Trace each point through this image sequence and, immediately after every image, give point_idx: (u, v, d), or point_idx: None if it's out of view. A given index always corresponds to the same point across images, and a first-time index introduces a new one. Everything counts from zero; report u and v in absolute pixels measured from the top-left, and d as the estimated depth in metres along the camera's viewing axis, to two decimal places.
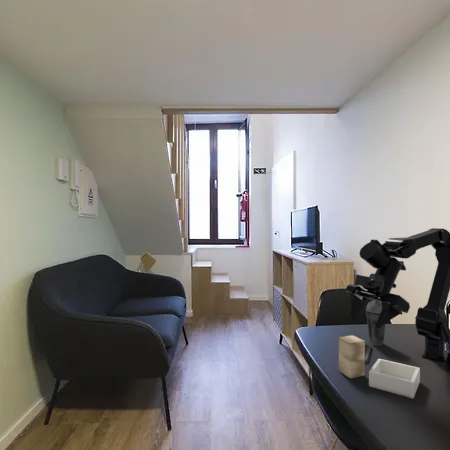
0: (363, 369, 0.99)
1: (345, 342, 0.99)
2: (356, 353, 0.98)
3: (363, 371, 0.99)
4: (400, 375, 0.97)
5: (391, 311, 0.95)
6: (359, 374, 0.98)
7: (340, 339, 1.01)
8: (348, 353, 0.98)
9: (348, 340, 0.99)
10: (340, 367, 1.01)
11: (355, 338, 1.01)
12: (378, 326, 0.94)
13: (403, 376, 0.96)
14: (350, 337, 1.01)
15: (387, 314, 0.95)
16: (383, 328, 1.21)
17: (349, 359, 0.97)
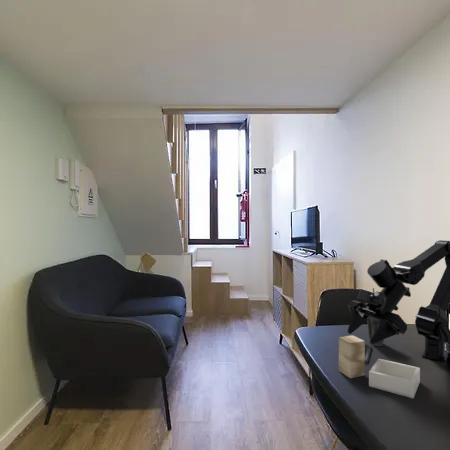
0: (363, 369, 0.99)
1: (345, 342, 0.99)
2: (355, 353, 0.98)
3: (363, 371, 0.99)
4: (400, 375, 0.97)
5: (388, 330, 0.97)
6: (359, 374, 0.98)
7: (340, 339, 1.01)
8: (348, 353, 0.98)
9: (348, 340, 0.99)
10: (340, 367, 1.01)
11: (355, 338, 1.01)
12: (373, 341, 0.97)
13: (403, 376, 0.96)
14: (350, 337, 1.01)
15: (383, 332, 0.97)
16: None
17: (349, 359, 0.97)
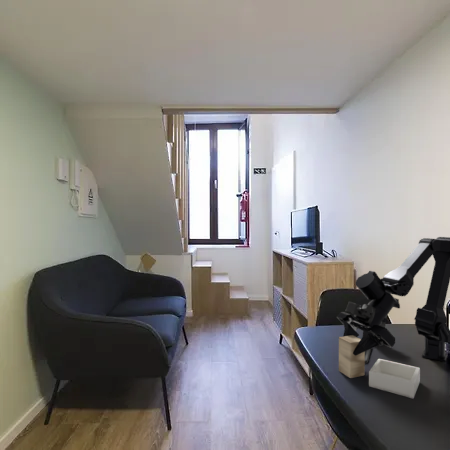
0: (363, 369, 0.99)
1: (345, 342, 0.99)
2: None
3: (363, 371, 0.99)
4: (400, 375, 0.97)
5: (371, 341, 0.98)
6: (359, 374, 0.98)
7: (340, 339, 1.01)
8: (348, 352, 0.98)
9: (348, 340, 0.99)
10: (340, 367, 1.01)
11: (355, 338, 1.01)
12: (356, 353, 0.97)
13: (403, 376, 0.96)
14: (350, 337, 1.01)
15: (366, 343, 0.97)
16: None
17: (349, 359, 0.97)
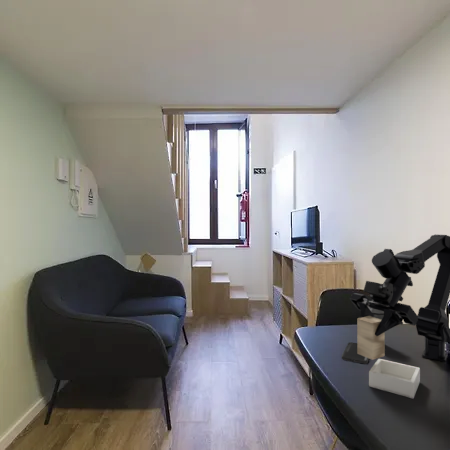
0: (383, 349, 0.96)
1: (365, 323, 0.95)
2: None
3: (383, 352, 0.95)
4: (400, 375, 0.97)
5: (392, 320, 0.95)
6: (380, 355, 0.95)
7: (359, 320, 0.97)
8: (370, 333, 0.94)
9: (368, 320, 0.95)
10: (359, 350, 0.97)
11: (374, 318, 0.97)
12: (378, 333, 0.93)
13: (403, 376, 0.96)
14: (368, 318, 0.98)
15: (388, 322, 0.94)
16: None
17: (371, 340, 0.93)
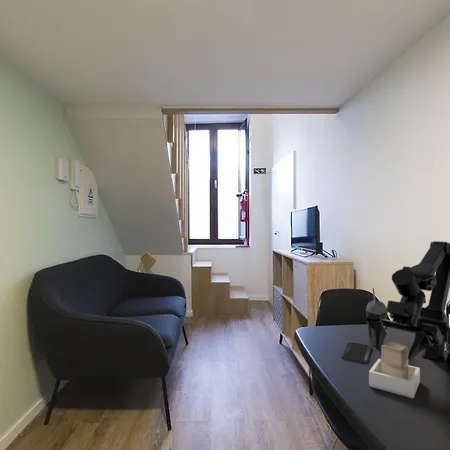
0: (407, 376, 0.93)
1: (391, 351, 0.91)
2: (403, 361, 0.91)
3: (407, 379, 0.93)
4: None
5: (422, 342, 0.91)
6: None
7: (383, 347, 0.93)
8: (397, 361, 0.90)
9: (394, 348, 0.92)
10: None
11: (397, 344, 0.94)
12: (411, 357, 0.89)
13: None
14: (391, 344, 0.94)
15: (419, 345, 0.90)
16: None
17: (398, 368, 0.90)
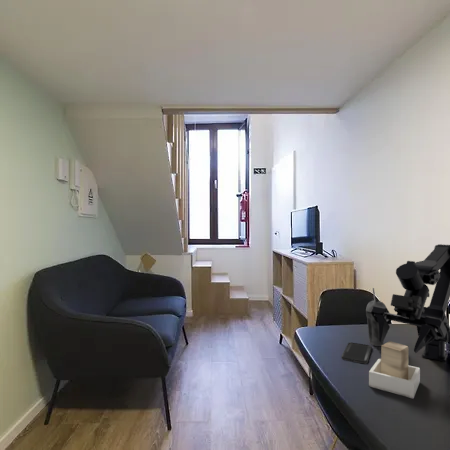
0: (407, 376, 0.93)
1: (391, 351, 0.91)
2: (403, 361, 0.91)
3: (407, 379, 0.93)
4: None
5: (428, 335, 0.93)
6: None
7: (383, 347, 0.93)
8: (397, 361, 0.90)
9: (394, 348, 0.92)
10: None
11: (397, 344, 0.94)
12: (417, 350, 0.91)
13: None
14: (391, 344, 0.94)
15: (425, 338, 0.92)
16: None
17: (398, 368, 0.90)
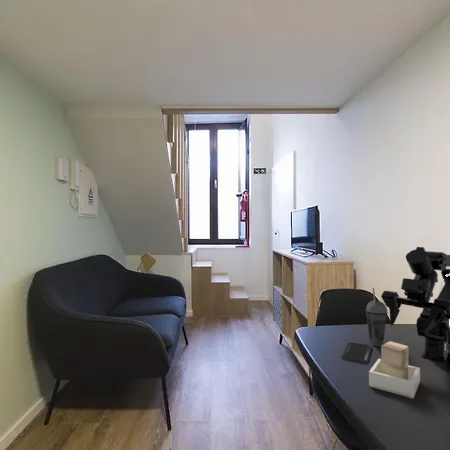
0: (407, 376, 0.93)
1: (391, 351, 0.91)
2: (403, 361, 0.91)
3: (407, 379, 0.93)
4: None
5: (437, 317, 0.97)
6: None
7: (383, 347, 0.93)
8: (397, 361, 0.90)
9: (394, 348, 0.92)
10: None
11: (397, 344, 0.94)
12: (427, 330, 0.95)
13: None
14: (391, 344, 0.94)
15: (434, 319, 0.96)
16: (383, 328, 1.21)
17: (398, 368, 0.90)
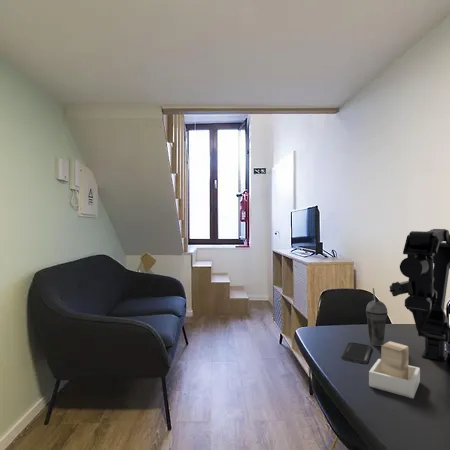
0: (407, 376, 0.93)
1: (391, 351, 0.91)
2: (403, 361, 0.91)
3: (407, 379, 0.93)
4: None
5: (422, 311, 0.96)
6: None
7: (383, 347, 0.93)
8: (397, 361, 0.90)
9: (394, 348, 0.92)
10: None
11: (397, 344, 0.94)
12: (418, 328, 0.98)
13: None
14: (391, 344, 0.94)
15: (419, 315, 0.97)
16: (383, 328, 1.21)
17: (398, 368, 0.90)
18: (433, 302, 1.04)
